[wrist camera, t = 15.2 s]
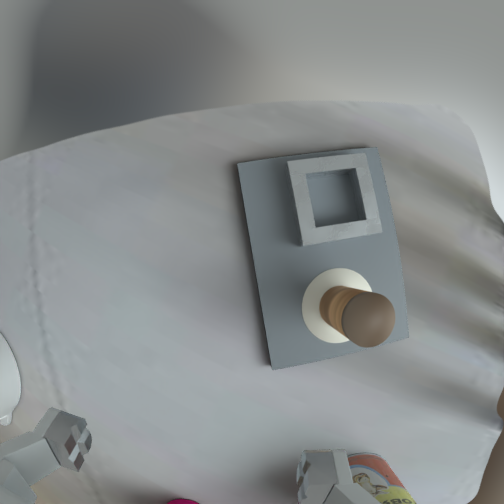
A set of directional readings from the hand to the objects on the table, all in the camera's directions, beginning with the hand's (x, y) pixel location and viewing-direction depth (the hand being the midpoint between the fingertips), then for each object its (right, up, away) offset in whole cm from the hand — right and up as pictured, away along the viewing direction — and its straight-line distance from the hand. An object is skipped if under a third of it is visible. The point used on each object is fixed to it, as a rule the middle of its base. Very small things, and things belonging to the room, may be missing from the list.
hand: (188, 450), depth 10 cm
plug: (+11, +1, +23) cm, 26 cm away
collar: (+10, +12, +23) cm, 28 cm away
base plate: (+10, +7, +24) cm, 27 cm away
